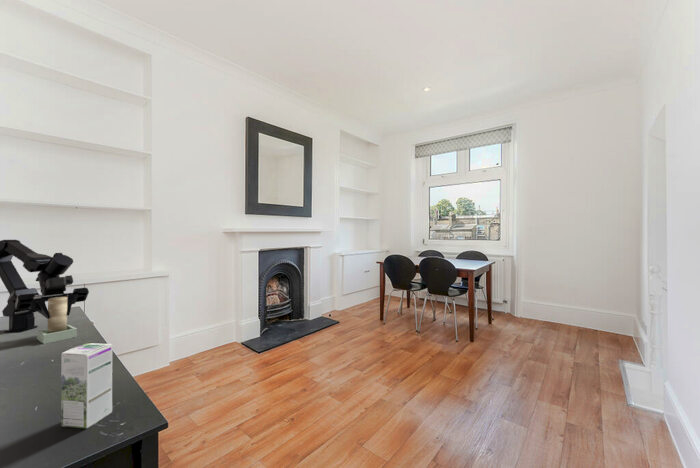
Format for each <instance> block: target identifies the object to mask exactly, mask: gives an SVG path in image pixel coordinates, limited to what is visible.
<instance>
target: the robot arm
mask: <svg viewBox="0 0 700 468" xmlns="http://www.w3.org/2000/svg"><path fill="white" fill-rule="evenodd" d="M13 257H14V258H16V259H17V260H19V261H21V262H22V263H23V264H22V267H23V268H24V269H25V270H26V271H27V272H29V273H38V274H37V277H36V278H35V281H36V282H39V287H40V288H39V289H40V293H41V294H40V293H39V292H38V290H37V288H35V287H33V288H29V287H27V285H26V283H25V282H24V280H23V279H22V276H21V275H20V273H19V272H18V270H17V268H16V266H15V265H14V263H13V262H12V259H13ZM73 263H74V259H73V258H72V257H71V256H68V255H67V254H63V252H55V253H54V254H53V256H50V255H48V254H43V253H37V252H36V251H34V250H33V249H31V248H29V247H28V246H26V245H24V244H23V243H22V242H21V241H20V240H19V239H2V240H0V280H1V281H2V284H3V285H4V287H5V289H6V290H7V292H8V294H9V295H8V298H7V301H6V302H7V304H6V306H5V307H4V308H3V309H2V310H1V312H2V316H3V317H8V329H5V330H3V331H4V332H5V333H9V332H10V333H12V332H13V333H15V332H16V333H17V332H19V333H20V332H24V331H30V330H31V329H35V328H38V327H39V325H35V321H36V320H35V319H36V317H35V313H39V314H40V315H42V316H43V317H44V318H46V319H47V320H48V319H49V312H48V306H47V304H46V302H47V303H48V299H49V298H55V297H67V316H70V314H71V310H72V305H75V304H76V303H81V302H85V301H86V300H87V298H88V295H89V293H90V291H89V289H88V287H79V288H78V287H77V288H73V290H72V292H67V293H66V291H67V286H68V285H69V286H71V285H72V284H73V283H74V278H73V276H72V274H71V275H65V276H61V275H64V274H65V273H66V272H67V270H68V269H69V268H70V267H71V266H72V265H73Z"/></svg>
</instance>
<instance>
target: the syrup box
mask: <svg viewBox="0 0 700 468" xmlns="http://www.w3.org/2000/svg"><path fill="white" fill-rule="evenodd" d="M60 363H61V369H60V370H61V375H60V376H61V377H60V378H61V381H60V382H61V385H60V386H61V388H60V389H61V390H60V394H61V396H60V397H61V398H60V399H61V401H60V402H61V403H60V413H61V414H60V417H61V418H60V426H61V427H63V428H74V429H75V428H76V429H88V428H90V427H92V426H94V425H95V424H97V423H98V422H99V421H101V420H102V419H103V420H104V419H105V418H106V417H107V416H109V415H110V414H111V413H113V343H97V342H93V343H92V342H90V343H89V342H88V343H83V344H80V345H77V346H75V347H72V348H70V349H67V350H66V351H64V352H61V362H60Z"/></svg>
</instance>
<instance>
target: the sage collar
mask: <svg viewBox="0 0 700 468" xmlns="http://www.w3.org/2000/svg"><path fill="white" fill-rule="evenodd" d="M47 332H48V328H46V329H45V328H44V329H40V330H37V332H36V339H37V341H39V342H40V343H42V344H43V345H45V344H46V345H47V344H49V343H55V342H58V341H65V340H68V339H73V337H74V338H78V328H76V327H75V326H72V325H70V324H67V330H65V331H60V332H55V333H49V334H47Z"/></svg>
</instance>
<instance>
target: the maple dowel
mask: <svg viewBox="0 0 700 468" xmlns="http://www.w3.org/2000/svg"><path fill="white" fill-rule="evenodd" d="M47 309H48V312H49V319H47V329H48V332H47V334H49V333H55V332H60V331H65V330H67V325H68V315H67V297H55V298H49V299H48V301H47Z"/></svg>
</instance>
